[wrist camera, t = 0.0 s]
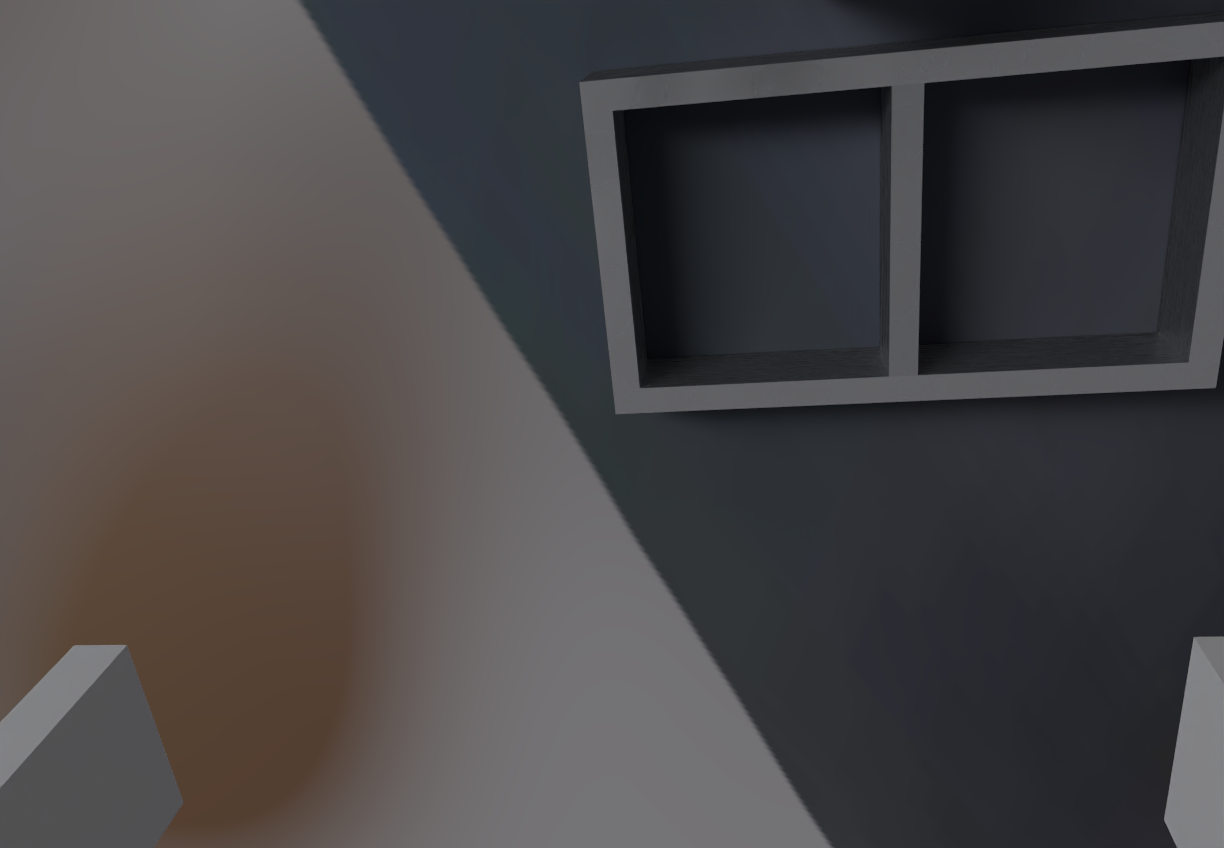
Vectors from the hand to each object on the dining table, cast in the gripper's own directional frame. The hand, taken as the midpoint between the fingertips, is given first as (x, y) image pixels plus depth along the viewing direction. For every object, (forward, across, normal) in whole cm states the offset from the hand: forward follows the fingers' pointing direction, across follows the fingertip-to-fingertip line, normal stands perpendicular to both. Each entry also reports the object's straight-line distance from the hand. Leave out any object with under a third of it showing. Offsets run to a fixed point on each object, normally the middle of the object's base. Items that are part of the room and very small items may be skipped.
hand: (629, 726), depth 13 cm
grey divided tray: (+28, +7, -1) cm, 29 cm away
